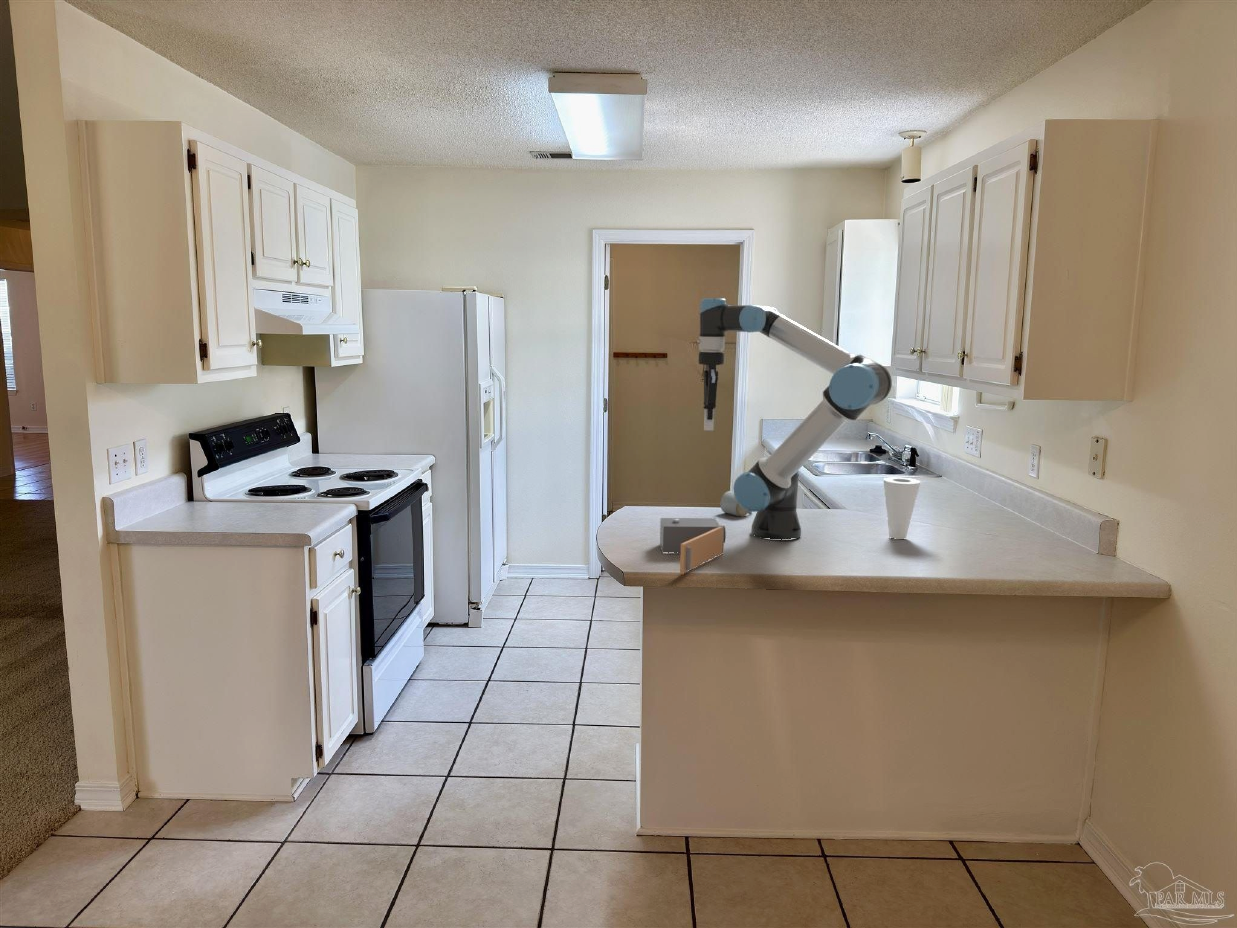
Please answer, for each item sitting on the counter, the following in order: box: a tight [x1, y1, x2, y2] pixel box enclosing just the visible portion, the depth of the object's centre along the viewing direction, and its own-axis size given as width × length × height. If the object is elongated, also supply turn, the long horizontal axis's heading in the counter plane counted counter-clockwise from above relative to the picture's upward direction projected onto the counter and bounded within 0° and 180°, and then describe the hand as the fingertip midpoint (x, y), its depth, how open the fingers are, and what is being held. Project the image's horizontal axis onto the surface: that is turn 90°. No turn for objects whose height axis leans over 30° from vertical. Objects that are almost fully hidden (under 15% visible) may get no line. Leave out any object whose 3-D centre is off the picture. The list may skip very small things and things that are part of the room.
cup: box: [883, 476, 921, 539], centre depth 255 cm, size 11×11×18 cm
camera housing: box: [659, 517, 727, 553], centre depth 240 cm, size 18×10×9 cm, turn 92°
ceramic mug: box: [719, 490, 753, 517], centre depth 284 cm, size 11×8×8 cm
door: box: [679, 525, 725, 575], centre depth 225 cm, size 24×2×8 cm, turn 147°
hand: (708, 430), depth 252 cm, fingers closed
